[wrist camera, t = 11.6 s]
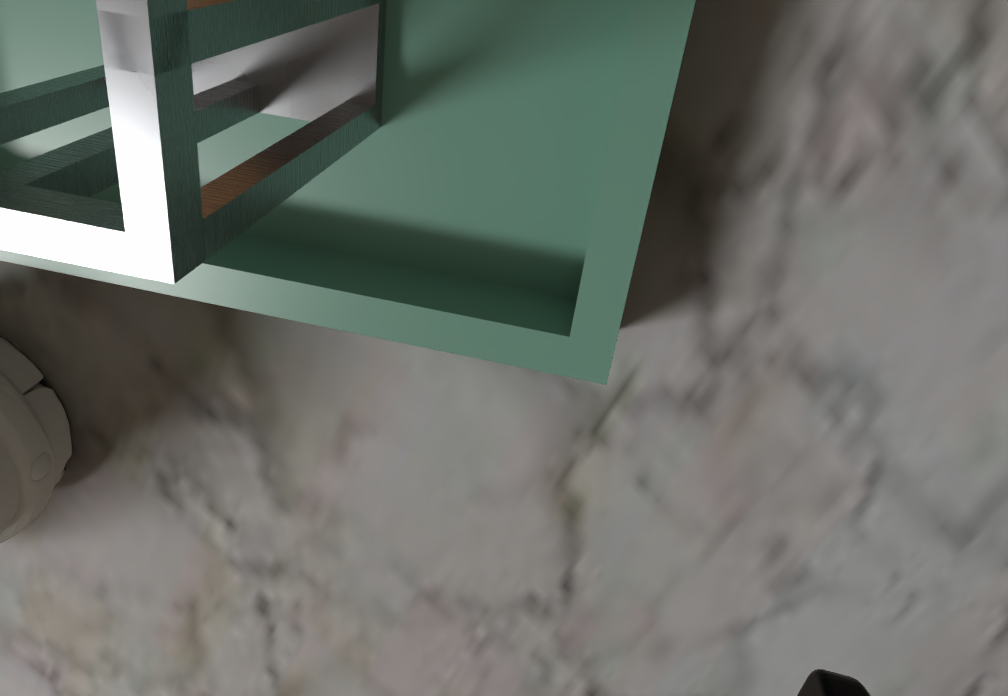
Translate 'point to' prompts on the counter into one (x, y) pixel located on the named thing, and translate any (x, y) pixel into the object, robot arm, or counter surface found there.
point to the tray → (434, 178)
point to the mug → (28, 441)
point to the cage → (188, 127)
